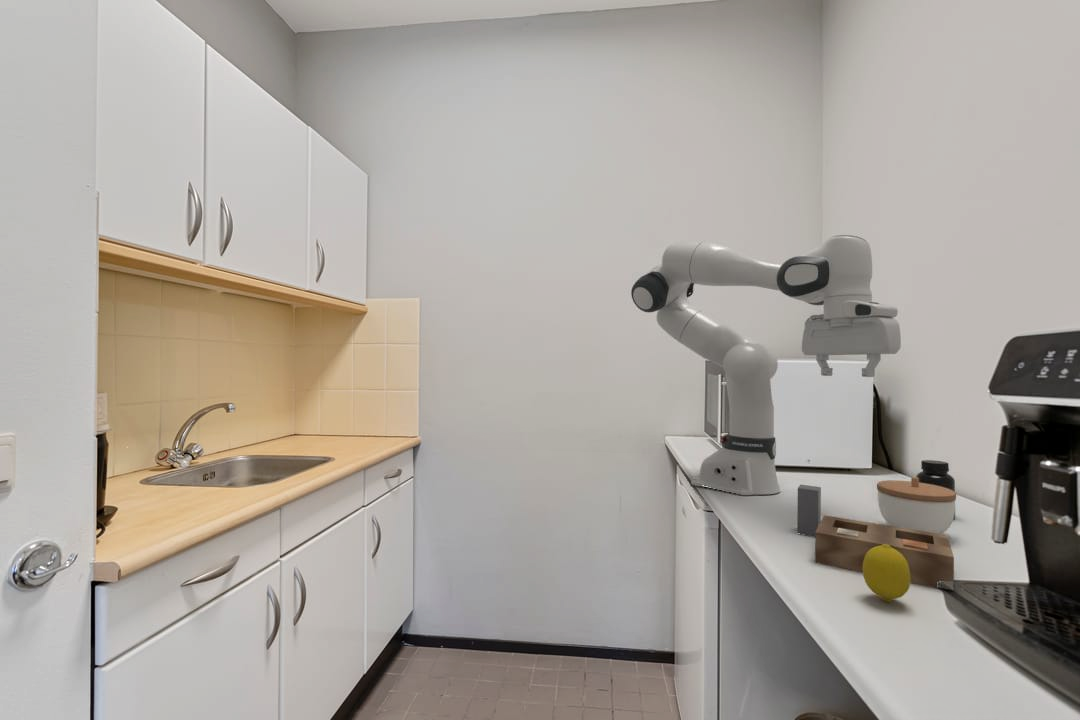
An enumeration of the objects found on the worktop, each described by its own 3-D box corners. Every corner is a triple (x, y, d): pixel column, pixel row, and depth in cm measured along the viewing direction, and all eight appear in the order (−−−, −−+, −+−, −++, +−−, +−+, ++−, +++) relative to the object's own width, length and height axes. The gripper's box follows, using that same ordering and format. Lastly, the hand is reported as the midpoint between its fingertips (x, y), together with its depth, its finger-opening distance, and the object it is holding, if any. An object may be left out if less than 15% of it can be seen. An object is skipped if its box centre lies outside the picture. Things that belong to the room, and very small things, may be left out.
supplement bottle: (941, 511, 114) (941, 459, 115) (963, 520, 108) (963, 465, 108) (909, 510, 115) (909, 458, 115) (929, 519, 108) (929, 464, 108)
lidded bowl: (870, 532, 99) (870, 477, 99) (883, 519, 108) (884, 468, 108) (952, 550, 90) (952, 488, 90) (959, 533, 99) (959, 478, 99)
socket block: (815, 561, 84) (815, 530, 84) (823, 541, 94) (824, 513, 94) (953, 591, 73) (953, 555, 73) (947, 565, 83) (947, 533, 83)
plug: (797, 533, 98) (797, 487, 98) (800, 528, 101) (800, 484, 101) (818, 537, 96) (818, 490, 96) (820, 532, 99) (820, 487, 99)
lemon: (853, 592, 72) (853, 537, 73) (889, 592, 73) (889, 537, 73) (882, 611, 67) (882, 551, 67) (921, 610, 67) (921, 551, 67)
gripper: (795, 315, 115) (794, 375, 115) (884, 305, 96) (883, 377, 96) (815, 316, 117) (814, 375, 117) (906, 307, 98) (905, 377, 98)
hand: (846, 376), depth 106 cm, fingers open, 8 cm apart
